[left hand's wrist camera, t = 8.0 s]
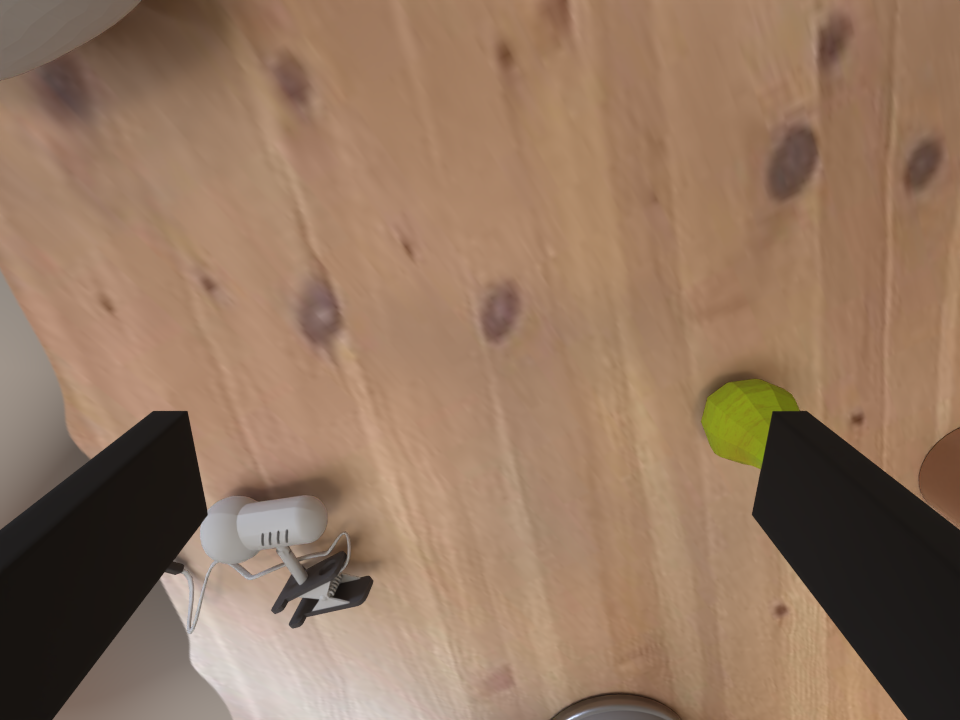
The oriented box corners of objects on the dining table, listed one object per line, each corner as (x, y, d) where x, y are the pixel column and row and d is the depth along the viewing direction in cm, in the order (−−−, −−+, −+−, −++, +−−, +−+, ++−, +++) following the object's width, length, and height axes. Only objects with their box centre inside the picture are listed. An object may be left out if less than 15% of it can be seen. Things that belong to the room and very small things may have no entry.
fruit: (757, 351, 41) (862, 424, 30) (785, 416, 43) (893, 509, 32) (677, 390, 42) (749, 475, 31) (707, 452, 44) (785, 554, 33)
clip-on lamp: (220, 590, 53) (386, 574, 47) (176, 653, 47) (358, 643, 41) (148, 497, 48) (324, 466, 42) (90, 556, 42) (283, 529, 37)
